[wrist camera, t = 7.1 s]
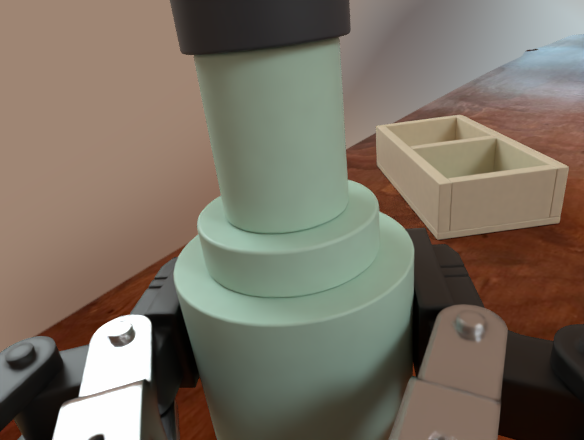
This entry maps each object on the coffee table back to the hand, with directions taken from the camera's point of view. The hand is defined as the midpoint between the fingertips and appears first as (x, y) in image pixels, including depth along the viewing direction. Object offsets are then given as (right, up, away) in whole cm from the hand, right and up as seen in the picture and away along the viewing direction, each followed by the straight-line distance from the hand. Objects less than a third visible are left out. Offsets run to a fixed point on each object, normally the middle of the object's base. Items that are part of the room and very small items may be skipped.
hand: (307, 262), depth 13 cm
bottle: (+1, -8, +1) cm, 8 cm away
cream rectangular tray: (+13, +4, +23) cm, 27 cm away
